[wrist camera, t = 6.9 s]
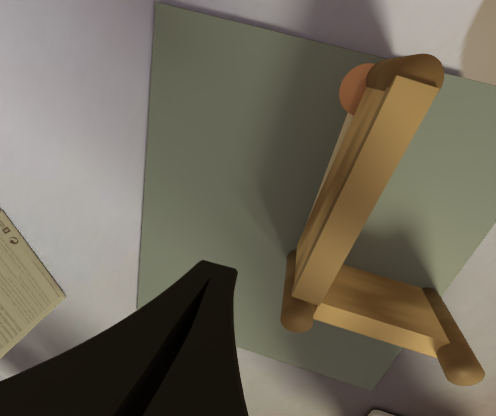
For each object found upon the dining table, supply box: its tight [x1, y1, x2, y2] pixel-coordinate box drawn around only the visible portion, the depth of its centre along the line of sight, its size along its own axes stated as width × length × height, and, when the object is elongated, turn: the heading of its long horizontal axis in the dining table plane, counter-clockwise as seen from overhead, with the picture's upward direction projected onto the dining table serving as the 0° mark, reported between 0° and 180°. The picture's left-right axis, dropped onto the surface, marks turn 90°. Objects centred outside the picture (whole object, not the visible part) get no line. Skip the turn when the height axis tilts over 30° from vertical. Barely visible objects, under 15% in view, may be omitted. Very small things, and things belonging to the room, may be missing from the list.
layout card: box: [137, 2, 496, 391], centre depth 18 cm, size 20×22×1 cm
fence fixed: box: [280, 249, 485, 386], centre depth 16 cm, size 10×2×5 cm, turn 77°
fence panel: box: [291, 54, 444, 306], centre depth 13 cm, size 11×2×5 cm, turn 164°
